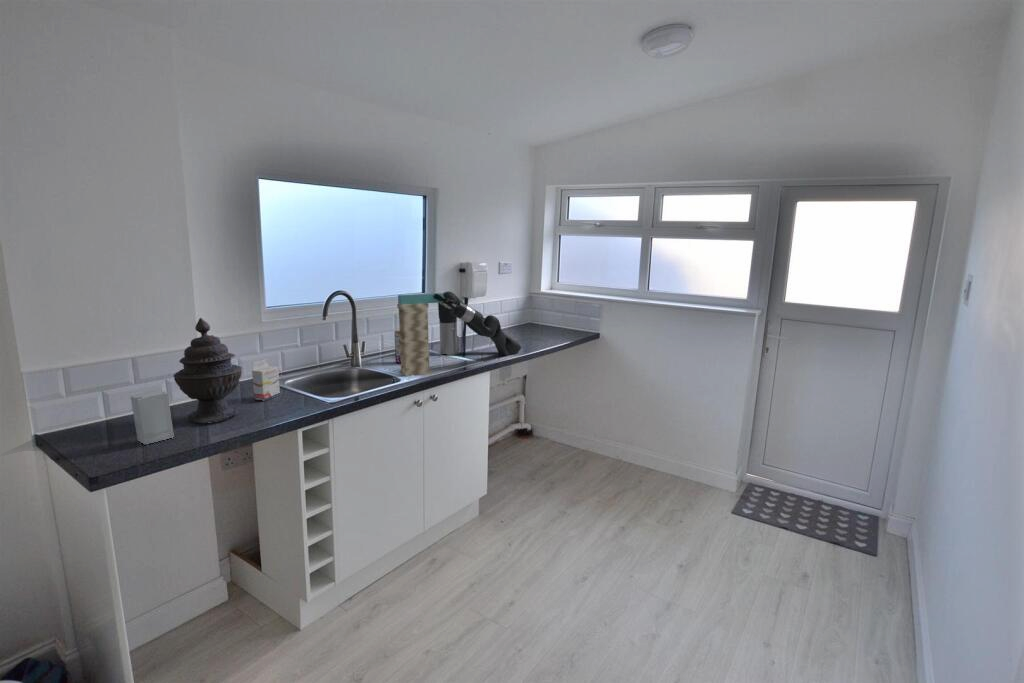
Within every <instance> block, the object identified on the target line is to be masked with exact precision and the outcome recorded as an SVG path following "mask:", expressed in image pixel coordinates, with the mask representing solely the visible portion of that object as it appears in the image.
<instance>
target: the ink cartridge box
mask: <svg viewBox="0 0 1024 683" xmlns="http://www.w3.org/2000/svg"><path fill="white" fill-rule="evenodd" d="M269 361H270V360H269V358H266V359H262V360H258V361H254V362H252V364H251V365H252V366H251V367H252V368H251V369H252V371H251V374H252V375H251V376H252V386H253V389H252V390H253V398H254V397H255V398H261V399H264V398H268V397H270V396H273V395H275V394H278V393H280V394H281V389H280V388H281V387H280V376H279V374H280V373H279V366H270V365H269V364H270V363H269ZM260 364H261V365H260Z"/></svg>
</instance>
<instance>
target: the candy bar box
mask: <svg viewBox="0 0 1024 683" xmlns="http://www.w3.org/2000/svg"><path fill="white" fill-rule="evenodd" d="M394 353H395V355H394V356H395V363H396V362H401V354H400V330H399V328H398V329H396V330H394Z"/></svg>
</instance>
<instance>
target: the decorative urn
mask: <svg viewBox="0 0 1024 683" xmlns="http://www.w3.org/2000/svg"><path fill="white" fill-rule="evenodd" d="M194 330H195V331H196V332H198V333H200V335H201V336H198V337H195V338H192V339H191V341H190V345H189V346H188V347H186V348H185V349H184V351H183V355H184V357H182V358H181V359H179V361H178V362H179V364H182V365H183V368H182V369H180V370H178V371H177V372H175V373H174V374H173V377H174V378H173V379H174V382H175V384H176V385H177V386H178V387H179V390H180V391H181V392H182V393H184V395H186V396H187V397H188V398H189V399H191V400H197V408H196V411H195V410H194V411H192V412H191V413H189V414H187V415H186V420H188V421H190V422H192V423H194V422H196V423H195V424H206V423H208V422H215V421H219V422H221V421H220V420H223V421H225V420H224V419H227V418H229V417H232V416H233V417H235V416H236V415H238V414H239V409H238V408H237V407H233V406H229V404H228V402H227V400H226V398H225V397H227V396H229V395H230V394H232V393H233V392H234V390H235V389H236V387H237V386H238V385H239V383H240V379H241V377H242V370H243V367H242V366H240V365H237V364H232V358H234V357H235V356H236V355H235V354H234V353H231V352H229V349H228V345H226V344H225V343H221V342H222V341H221V339H220V337H218V336H215V335H212V334H211V335H208V332H209V331H210V330H211V326H210V324H209V322H207V321H206V320H205V319H203V318H202V317H199V319H198V321H197V322H196V325H195V327H194ZM234 415H235V416H234ZM233 417H232V418H233ZM227 420H228V419H227ZM208 424H209V423H208Z"/></svg>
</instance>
